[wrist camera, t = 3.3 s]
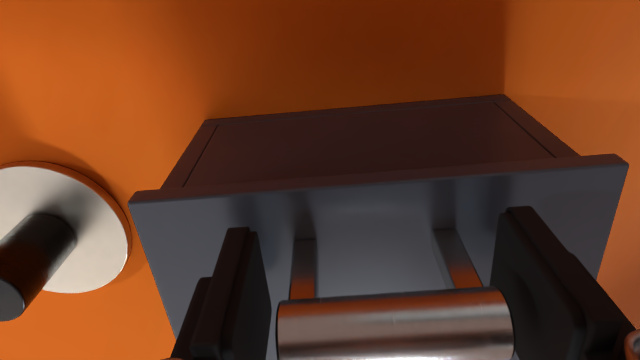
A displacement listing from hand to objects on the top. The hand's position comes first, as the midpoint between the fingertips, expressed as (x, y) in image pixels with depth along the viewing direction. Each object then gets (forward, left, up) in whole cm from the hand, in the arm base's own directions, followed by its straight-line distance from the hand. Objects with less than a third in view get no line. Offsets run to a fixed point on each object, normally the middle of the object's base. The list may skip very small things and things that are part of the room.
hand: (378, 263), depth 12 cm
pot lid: (+4, -16, -9) cm, 19 cm away
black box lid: (+6, 0, -2) cm, 6 cm away
